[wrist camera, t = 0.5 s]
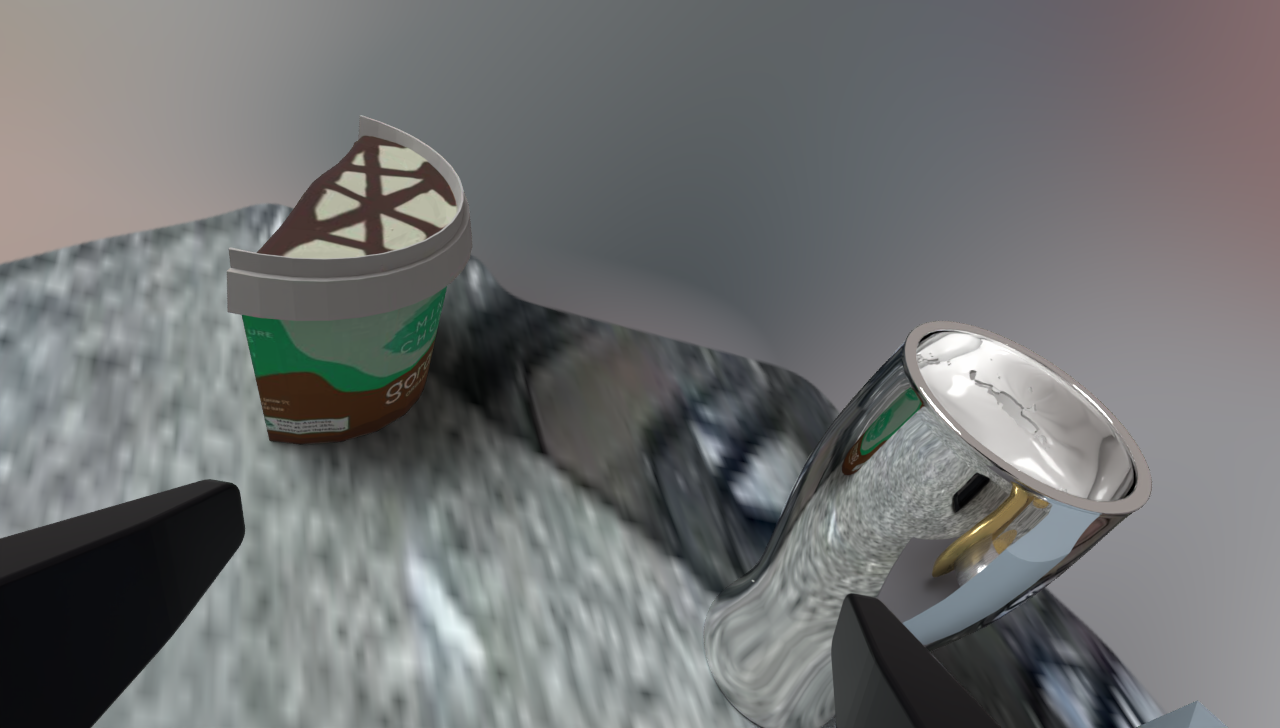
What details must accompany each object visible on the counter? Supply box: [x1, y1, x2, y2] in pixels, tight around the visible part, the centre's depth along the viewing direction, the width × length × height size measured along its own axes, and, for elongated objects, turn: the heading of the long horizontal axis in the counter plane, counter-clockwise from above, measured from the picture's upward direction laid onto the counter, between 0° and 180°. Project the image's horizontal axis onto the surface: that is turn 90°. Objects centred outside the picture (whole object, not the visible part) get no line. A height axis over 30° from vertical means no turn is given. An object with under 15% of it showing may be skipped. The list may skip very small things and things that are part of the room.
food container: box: [227, 115, 472, 444], centre depth 26 cm, size 12×6×10 cm, turn 179°
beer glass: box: [703, 321, 1152, 728], centre depth 21 cm, size 7×7×15 cm
